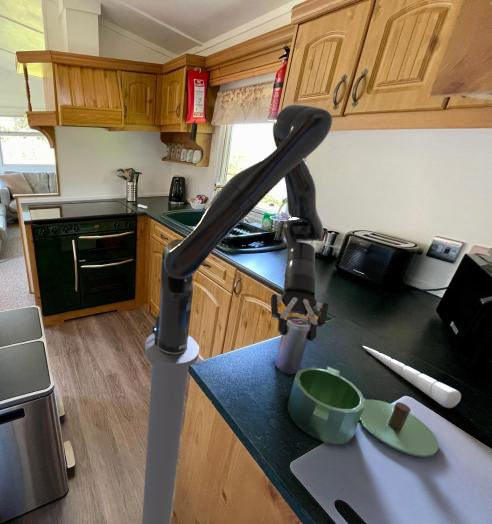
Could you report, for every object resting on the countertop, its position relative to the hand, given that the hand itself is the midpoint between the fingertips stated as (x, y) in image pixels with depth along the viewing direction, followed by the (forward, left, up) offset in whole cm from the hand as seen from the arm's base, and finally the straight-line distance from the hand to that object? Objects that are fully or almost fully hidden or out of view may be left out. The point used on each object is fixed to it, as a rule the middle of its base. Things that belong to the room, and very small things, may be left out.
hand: (296, 336), depth 74 cm
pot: (+9, -11, -11) cm, 18 cm away
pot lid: (+22, -3, -10) cm, 25 cm away
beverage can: (-1, +2, -11) cm, 11 cm away
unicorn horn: (+24, +20, -11) cm, 33 cm away
